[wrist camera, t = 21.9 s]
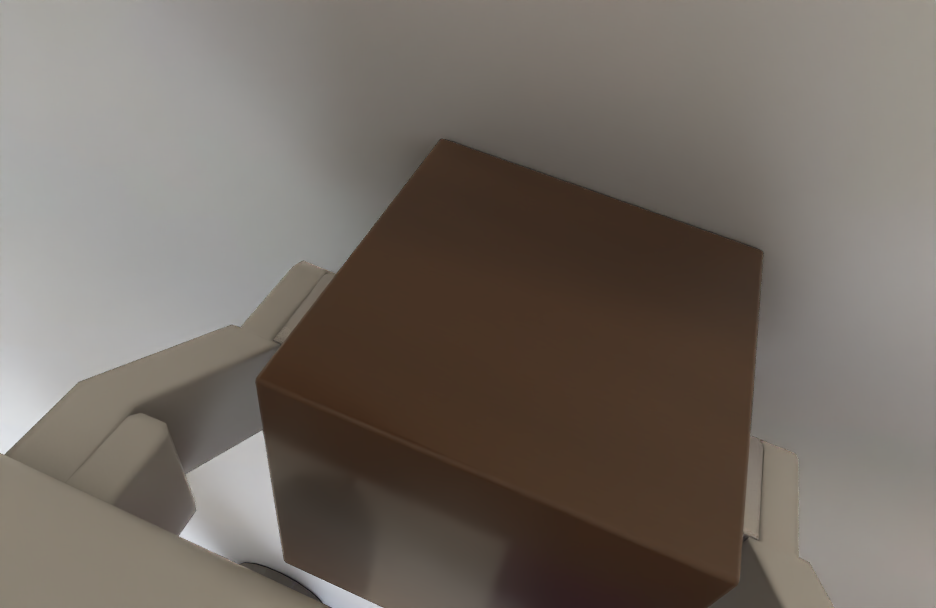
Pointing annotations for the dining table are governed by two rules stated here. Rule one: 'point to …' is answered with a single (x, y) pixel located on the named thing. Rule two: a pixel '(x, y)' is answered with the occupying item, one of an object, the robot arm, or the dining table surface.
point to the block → (519, 401)
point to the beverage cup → (279, 579)
